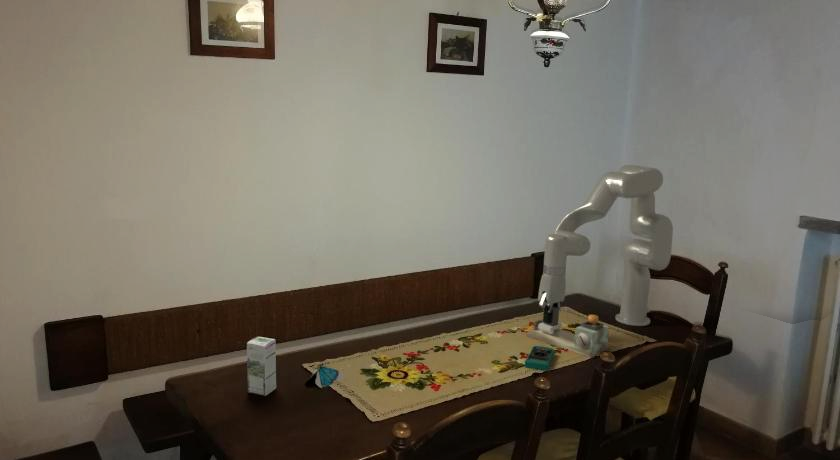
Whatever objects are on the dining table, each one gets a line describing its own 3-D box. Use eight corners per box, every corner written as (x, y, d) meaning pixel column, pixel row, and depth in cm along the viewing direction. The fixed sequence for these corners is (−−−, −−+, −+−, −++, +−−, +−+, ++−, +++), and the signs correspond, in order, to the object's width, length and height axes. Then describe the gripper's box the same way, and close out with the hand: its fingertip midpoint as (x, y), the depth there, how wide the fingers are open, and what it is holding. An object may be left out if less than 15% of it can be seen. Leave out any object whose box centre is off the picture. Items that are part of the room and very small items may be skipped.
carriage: (549, 327, 233) (551, 303, 231) (561, 330, 229) (563, 307, 228) (537, 331, 228) (539, 307, 226) (549, 335, 224) (551, 311, 223)
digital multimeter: (554, 356, 213) (555, 347, 212) (547, 372, 199) (548, 363, 198) (532, 352, 215) (533, 344, 214) (523, 368, 201) (524, 359, 201)
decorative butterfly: (294, 372, 182) (313, 352, 191) (298, 391, 185) (316, 370, 193) (325, 379, 178) (344, 359, 187) (328, 398, 181) (346, 377, 189)
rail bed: (546, 328, 237) (548, 304, 235) (608, 348, 219) (611, 322, 218) (526, 336, 229) (528, 310, 227) (589, 357, 211) (591, 330, 209)
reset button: (591, 319, 218) (591, 314, 218) (599, 322, 216) (600, 316, 215) (586, 321, 216) (586, 315, 215) (594, 324, 213) (595, 318, 213)
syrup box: (276, 388, 180) (276, 338, 177) (265, 397, 175) (264, 345, 172) (259, 384, 182) (258, 335, 179) (246, 393, 176) (246, 342, 174)
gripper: (559, 264, 233) (555, 314, 236) (531, 271, 221) (527, 323, 225) (577, 269, 227) (573, 319, 231) (549, 276, 216) (545, 329, 220)
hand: (550, 320), depth 228 cm, fingers closed on carriage, 3 cm apart
